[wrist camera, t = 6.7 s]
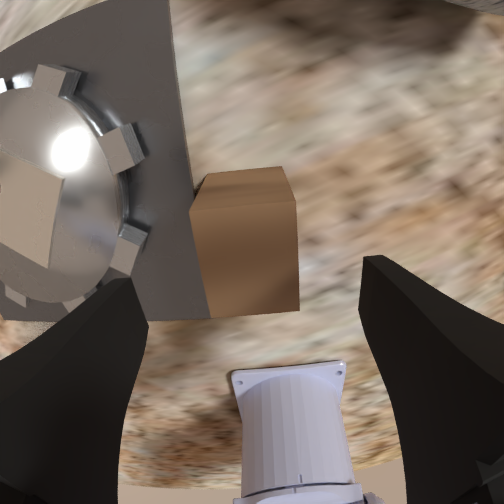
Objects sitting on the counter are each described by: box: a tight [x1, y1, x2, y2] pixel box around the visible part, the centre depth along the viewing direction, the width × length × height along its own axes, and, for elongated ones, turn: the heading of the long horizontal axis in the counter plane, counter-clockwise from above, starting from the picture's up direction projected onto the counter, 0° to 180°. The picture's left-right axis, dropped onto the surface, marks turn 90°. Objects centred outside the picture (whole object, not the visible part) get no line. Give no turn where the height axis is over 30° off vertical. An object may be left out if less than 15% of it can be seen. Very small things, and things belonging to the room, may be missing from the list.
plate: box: [0, 0, 211, 322], centre depth 14 cm, size 18×18×1 cm
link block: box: [189, 166, 300, 318], centre depth 13 cm, size 4×4×5 cm
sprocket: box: [0, 64, 148, 313], centre depth 12 cm, size 14×14×6 cm
